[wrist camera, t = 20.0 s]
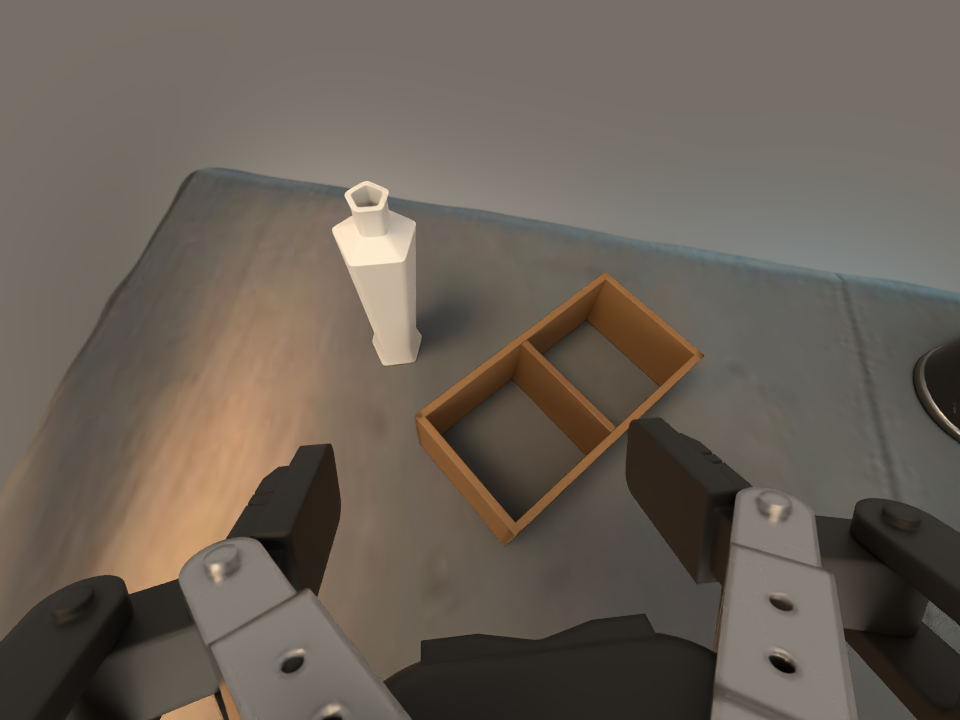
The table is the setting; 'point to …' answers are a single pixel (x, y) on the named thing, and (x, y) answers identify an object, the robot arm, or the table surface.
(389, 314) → the perfume bottle
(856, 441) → the table surface
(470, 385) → the divided tray
